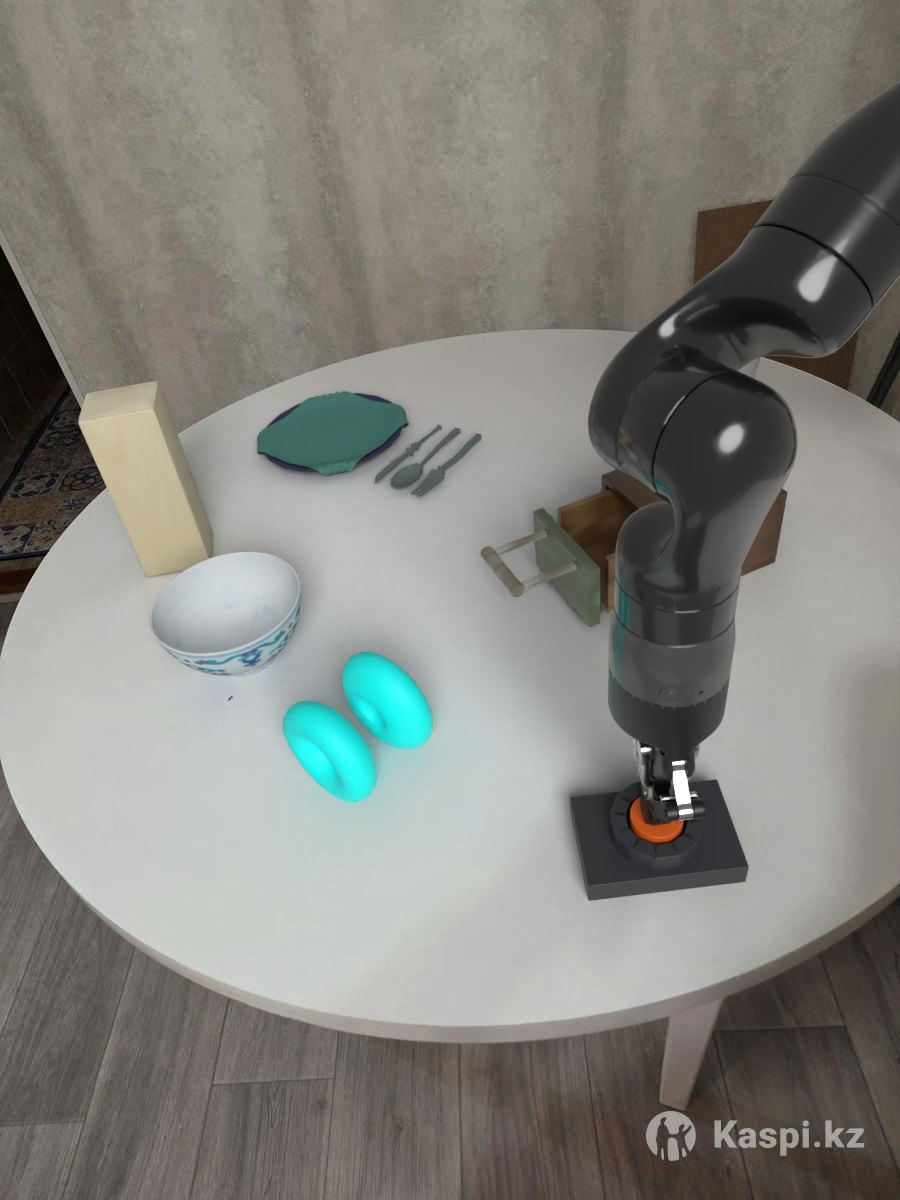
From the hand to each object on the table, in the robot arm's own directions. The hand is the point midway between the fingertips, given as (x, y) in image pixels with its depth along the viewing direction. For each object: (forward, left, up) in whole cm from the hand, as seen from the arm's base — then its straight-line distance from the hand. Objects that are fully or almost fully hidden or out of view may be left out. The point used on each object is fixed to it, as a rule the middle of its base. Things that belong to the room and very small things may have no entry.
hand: (656, 814), depth 66 cm
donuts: (+23, -12, -5) cm, 26 cm away
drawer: (0, -31, -4) cm, 31 cm away
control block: (0, 0, -4) cm, 4 cm away
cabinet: (-12, -35, -4) cm, 37 cm away
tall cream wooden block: (+46, -47, -5) cm, 66 cm away
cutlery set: (+24, -65, -4) cm, 69 cm away
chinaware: (+36, -28, -5) cm, 46 cm away
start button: (0, 0, -2) cm, 2 cm away
